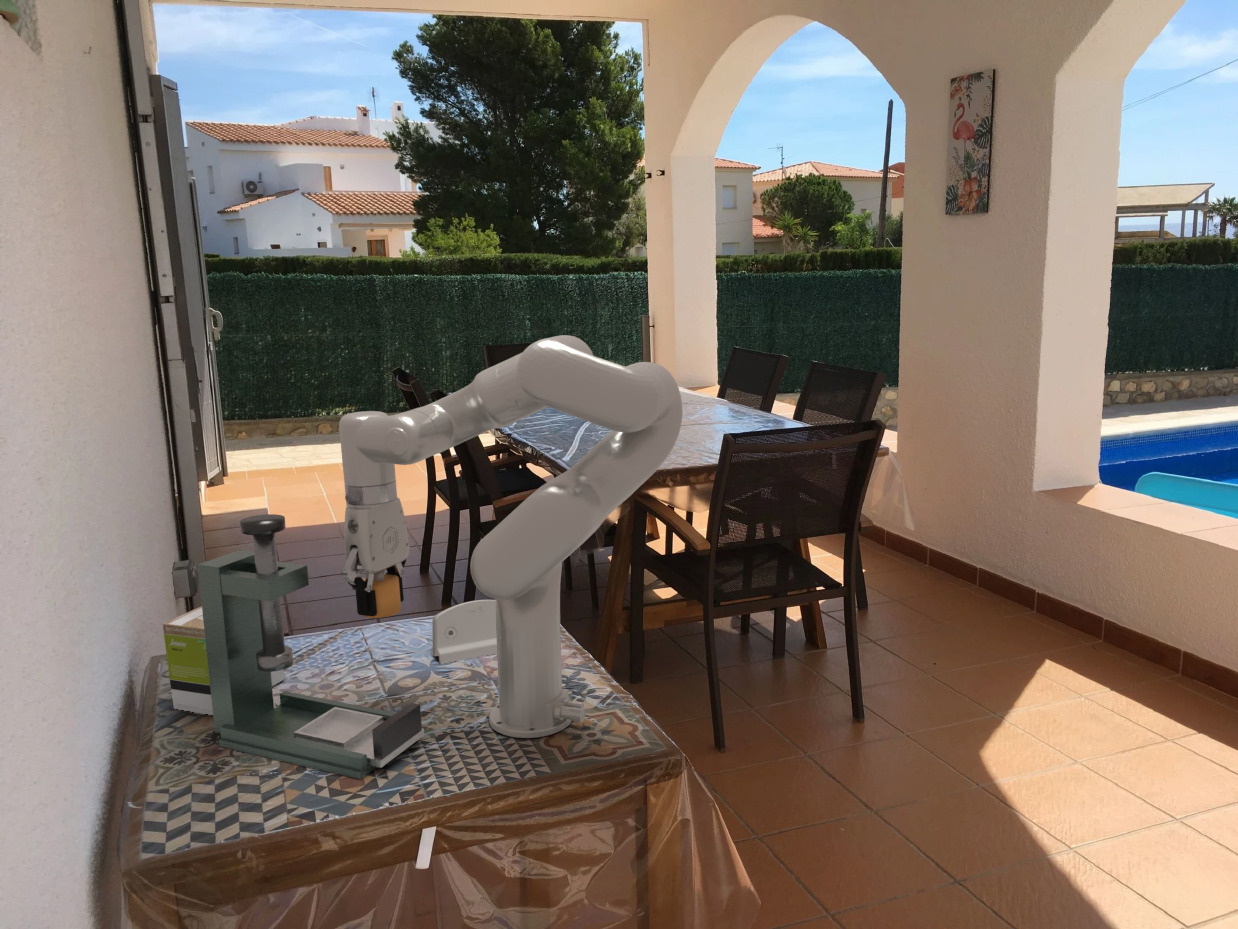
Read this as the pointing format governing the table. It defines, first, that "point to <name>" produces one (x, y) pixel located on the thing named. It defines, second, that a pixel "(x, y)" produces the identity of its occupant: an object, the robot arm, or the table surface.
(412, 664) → the table surface
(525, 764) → the table surface
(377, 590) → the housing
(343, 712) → the sliding bed
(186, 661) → the tea box
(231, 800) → the table surface
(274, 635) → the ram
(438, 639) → the hinge
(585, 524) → the robot arm
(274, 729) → the press
